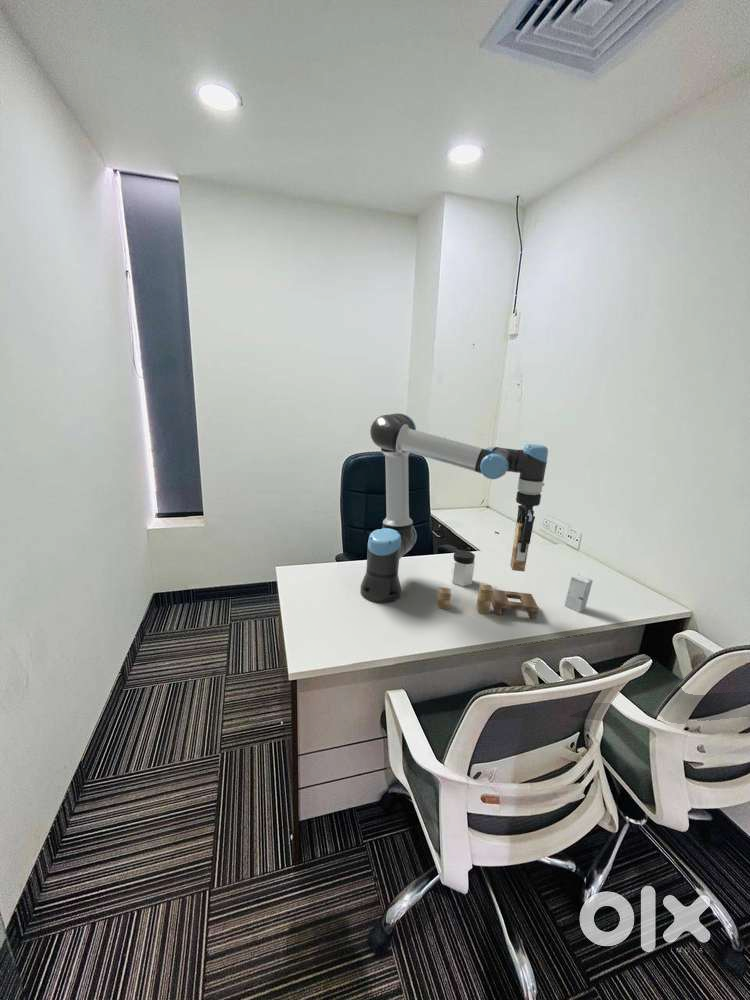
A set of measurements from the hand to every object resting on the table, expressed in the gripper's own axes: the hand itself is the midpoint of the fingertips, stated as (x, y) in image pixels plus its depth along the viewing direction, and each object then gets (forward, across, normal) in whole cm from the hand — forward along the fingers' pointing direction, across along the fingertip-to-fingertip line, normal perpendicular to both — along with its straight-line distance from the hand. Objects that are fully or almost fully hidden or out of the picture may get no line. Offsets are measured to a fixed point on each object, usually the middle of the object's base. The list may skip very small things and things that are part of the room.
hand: (519, 557), depth 142 cm
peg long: (+4, 0, 0) cm, 4 cm away
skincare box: (+21, +8, -25) cm, 33 cm away
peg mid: (+20, -2, +10) cm, 23 cm away
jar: (+20, +18, +16) cm, 32 cm away
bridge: (+20, +1, -1) cm, 20 cm away
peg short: (+20, -3, +24) cm, 32 cm away
